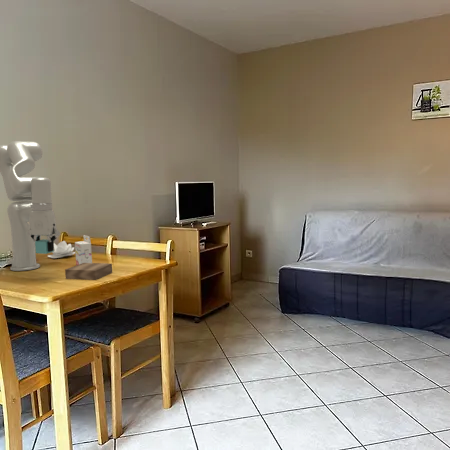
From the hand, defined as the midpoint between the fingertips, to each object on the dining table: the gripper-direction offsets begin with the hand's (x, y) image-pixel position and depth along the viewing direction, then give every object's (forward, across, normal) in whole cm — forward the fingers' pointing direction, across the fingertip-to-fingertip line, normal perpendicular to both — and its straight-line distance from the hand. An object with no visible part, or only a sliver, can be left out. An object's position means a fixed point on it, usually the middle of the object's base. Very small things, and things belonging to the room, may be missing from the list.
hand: (44, 250), depth 172 cm
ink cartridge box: (+13, +3, +24) cm, 28 cm away
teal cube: (+1, 0, 0) cm, 1 cm away
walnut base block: (+12, +16, +7) cm, 21 cm away
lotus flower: (+14, -24, +46) cm, 54 cm away
